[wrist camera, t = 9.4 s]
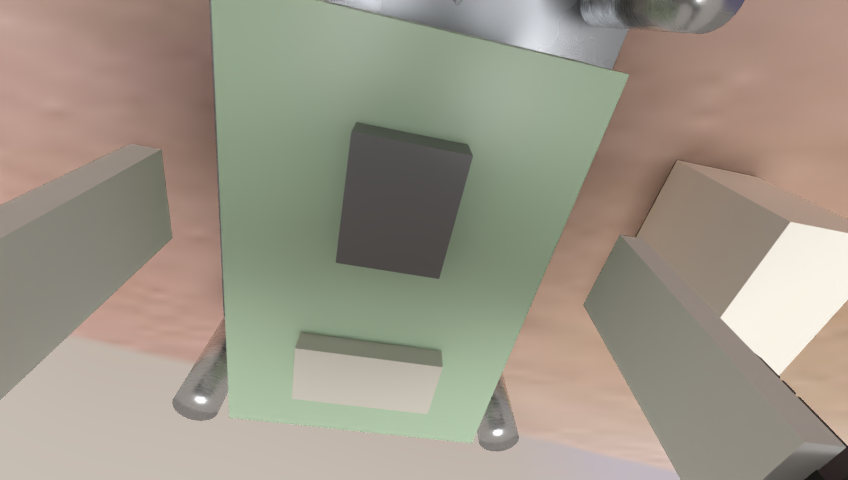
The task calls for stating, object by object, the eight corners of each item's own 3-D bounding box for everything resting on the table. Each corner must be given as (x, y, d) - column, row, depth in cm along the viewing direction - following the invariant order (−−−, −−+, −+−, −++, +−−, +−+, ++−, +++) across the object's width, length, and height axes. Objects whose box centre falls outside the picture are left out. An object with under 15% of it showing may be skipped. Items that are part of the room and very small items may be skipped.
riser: (676, 159, 17) (790, 221, 12) (757, 176, 18) (899, 243, 13) (601, 302, 21) (663, 396, 16) (668, 313, 22) (750, 407, 17)
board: (265, -14, 10) (187, -30, 6) (575, 59, 11) (649, 80, 7) (260, 348, 15) (218, 441, 12) (462, 374, 16) (475, 466, 13)
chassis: (220, -143, 12) (45, -287, 6) (635, -30, 14) (796, -62, 8) (233, 309, 21) (164, 423, 15) (490, 344, 23) (517, 459, 17)
